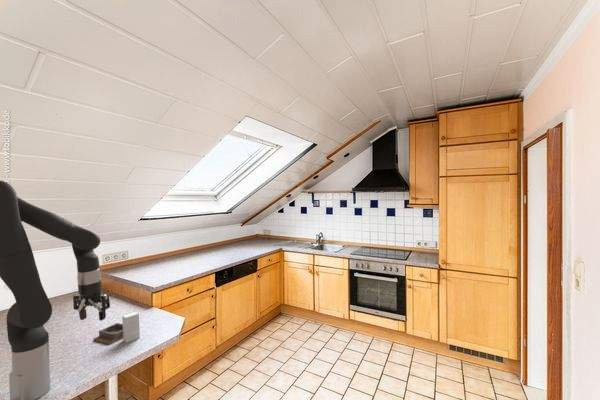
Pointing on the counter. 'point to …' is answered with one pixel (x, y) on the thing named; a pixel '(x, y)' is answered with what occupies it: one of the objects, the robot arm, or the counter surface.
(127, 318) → the skincare box
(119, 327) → the locating plate
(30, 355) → the robot arm
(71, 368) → the counter surface
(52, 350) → the counter surface
